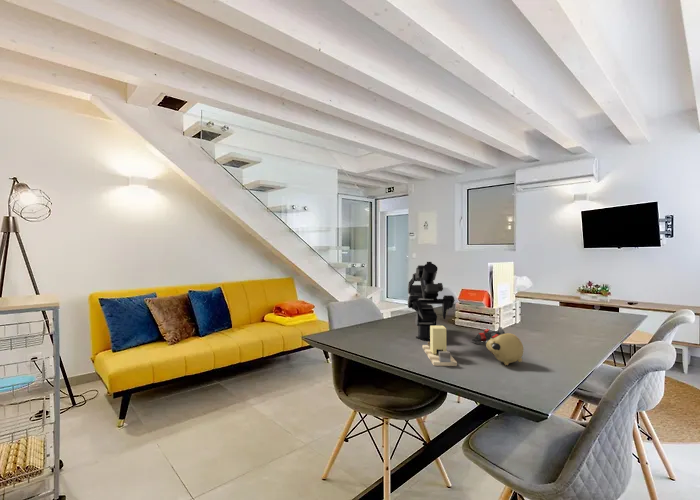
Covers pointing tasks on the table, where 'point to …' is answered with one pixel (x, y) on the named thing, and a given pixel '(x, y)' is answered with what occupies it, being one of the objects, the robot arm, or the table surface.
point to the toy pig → (506, 348)
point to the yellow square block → (437, 338)
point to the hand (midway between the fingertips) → (433, 318)
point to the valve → (487, 335)
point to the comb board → (435, 358)
